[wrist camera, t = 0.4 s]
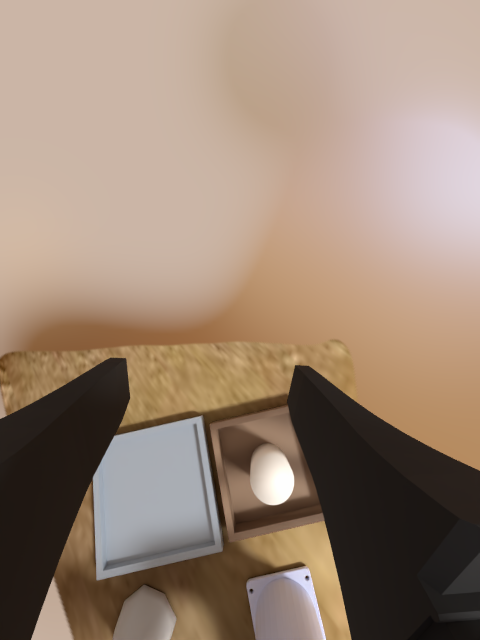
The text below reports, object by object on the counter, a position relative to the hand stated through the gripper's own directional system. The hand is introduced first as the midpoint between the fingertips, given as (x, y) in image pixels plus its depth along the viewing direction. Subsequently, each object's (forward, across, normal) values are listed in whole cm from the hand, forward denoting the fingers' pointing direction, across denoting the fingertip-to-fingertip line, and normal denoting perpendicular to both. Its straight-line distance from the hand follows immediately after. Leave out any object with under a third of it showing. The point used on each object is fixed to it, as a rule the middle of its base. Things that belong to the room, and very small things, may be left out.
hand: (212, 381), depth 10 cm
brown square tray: (+14, -9, +24) cm, 29 cm away
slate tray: (+14, +6, +29) cm, 33 cm away
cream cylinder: (+14, -9, +24) cm, 29 cm away
